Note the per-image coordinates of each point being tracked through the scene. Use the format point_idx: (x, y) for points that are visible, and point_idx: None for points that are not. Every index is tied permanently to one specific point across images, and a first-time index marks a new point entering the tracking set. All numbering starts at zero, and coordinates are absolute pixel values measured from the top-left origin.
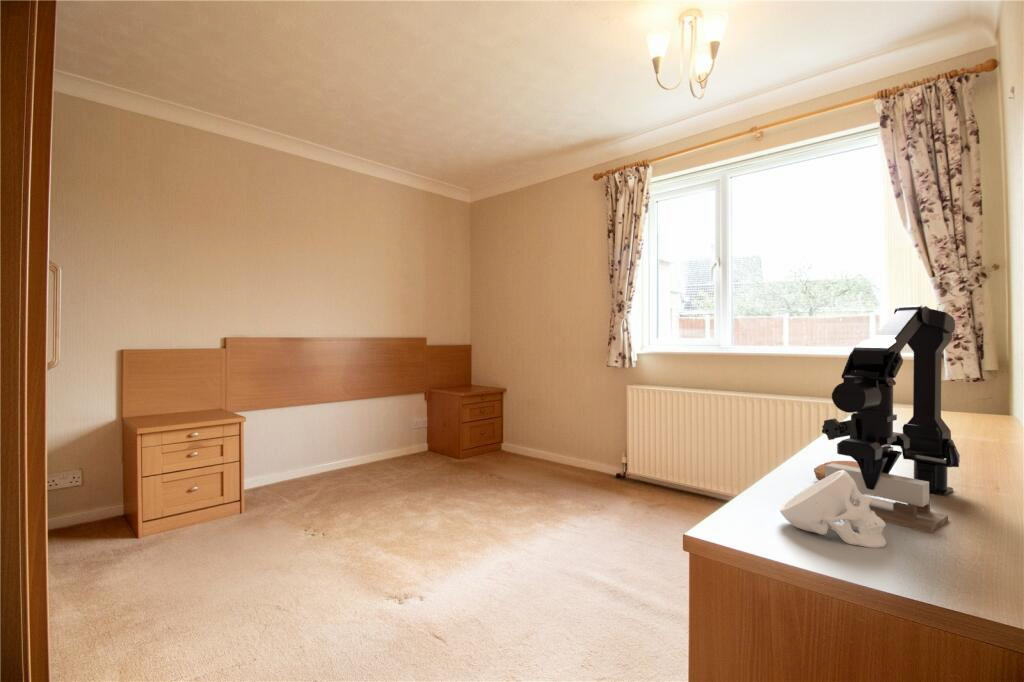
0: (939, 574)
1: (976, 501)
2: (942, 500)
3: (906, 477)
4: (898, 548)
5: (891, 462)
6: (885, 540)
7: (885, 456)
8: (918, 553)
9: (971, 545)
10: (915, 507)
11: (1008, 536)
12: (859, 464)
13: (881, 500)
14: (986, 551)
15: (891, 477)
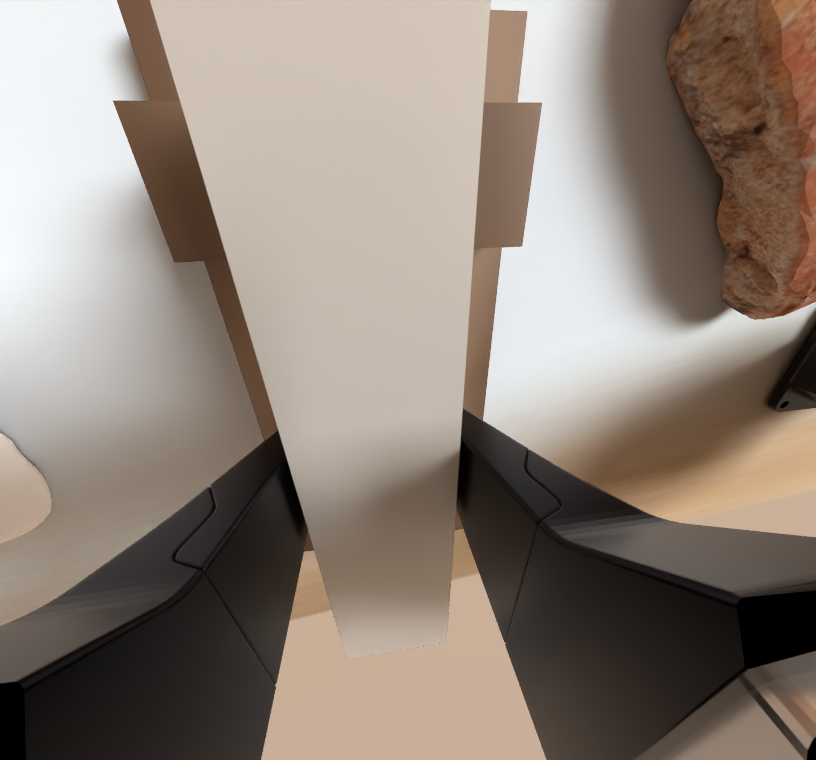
0: None
1: (739, 462)
2: (698, 420)
3: (448, 591)
4: (61, 541)
5: (509, 642)
6: (16, 537)
7: (552, 689)
8: (95, 566)
9: (306, 575)
10: (308, 549)
11: (453, 573)
12: (100, 583)
13: (476, 355)
14: (297, 593)
15: (363, 572)
